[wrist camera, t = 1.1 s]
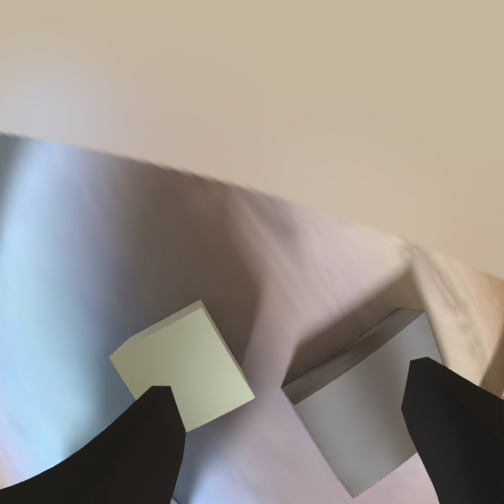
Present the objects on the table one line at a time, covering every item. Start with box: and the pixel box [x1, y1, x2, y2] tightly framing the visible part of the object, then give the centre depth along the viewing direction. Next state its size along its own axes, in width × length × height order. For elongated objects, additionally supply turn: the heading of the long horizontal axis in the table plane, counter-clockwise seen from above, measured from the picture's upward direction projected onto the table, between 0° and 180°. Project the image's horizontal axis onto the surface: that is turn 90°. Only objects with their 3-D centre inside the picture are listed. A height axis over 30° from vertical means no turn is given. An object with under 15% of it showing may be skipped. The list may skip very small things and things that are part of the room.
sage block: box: [109, 299, 255, 433], centre depth 16 cm, size 5×5×5 cm
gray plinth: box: [281, 308, 443, 498], centre depth 19 cm, size 10×10×3 cm
